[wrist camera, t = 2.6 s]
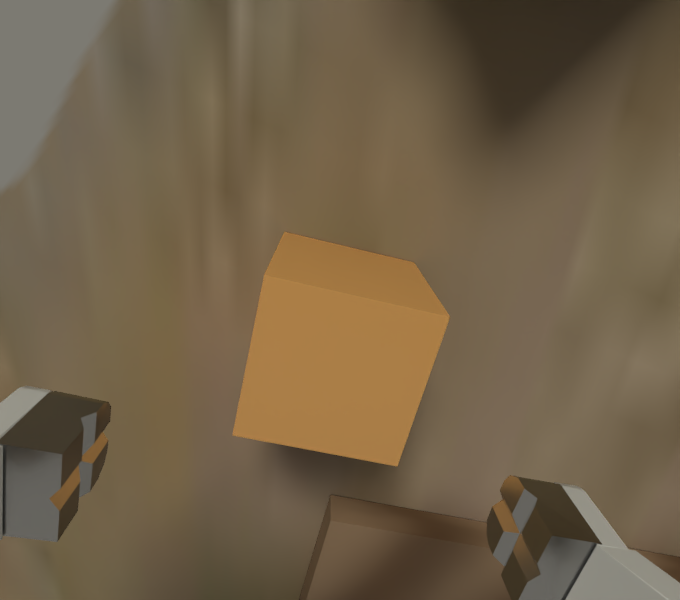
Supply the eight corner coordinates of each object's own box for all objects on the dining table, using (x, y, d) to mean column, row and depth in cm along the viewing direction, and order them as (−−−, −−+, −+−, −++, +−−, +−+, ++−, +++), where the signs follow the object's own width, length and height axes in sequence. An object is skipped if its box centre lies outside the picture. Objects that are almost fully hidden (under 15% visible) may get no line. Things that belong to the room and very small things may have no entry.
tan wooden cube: (413, 262, 17) (450, 316, 12) (378, 375, 19) (397, 466, 14) (284, 231, 17) (264, 275, 12) (259, 350, 18) (232, 435, 13)
